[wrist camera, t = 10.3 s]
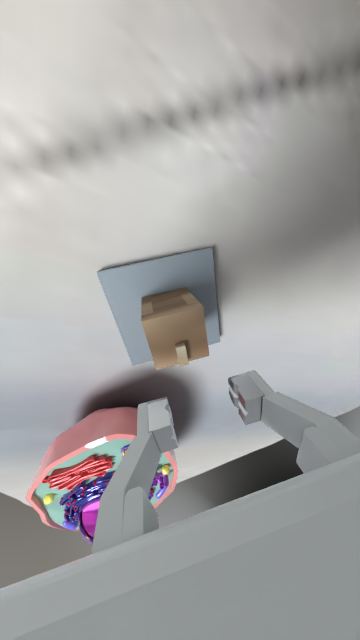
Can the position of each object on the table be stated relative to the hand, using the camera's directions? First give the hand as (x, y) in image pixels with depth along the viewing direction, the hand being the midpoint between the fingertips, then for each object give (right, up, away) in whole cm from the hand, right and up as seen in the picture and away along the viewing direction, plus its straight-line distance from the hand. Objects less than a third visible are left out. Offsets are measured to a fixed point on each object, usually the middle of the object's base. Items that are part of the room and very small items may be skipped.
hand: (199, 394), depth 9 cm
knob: (-2, +5, +10) cm, 12 cm away
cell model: (-11, -13, +19) cm, 25 cm away
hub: (-3, +5, +12) cm, 13 cm away
